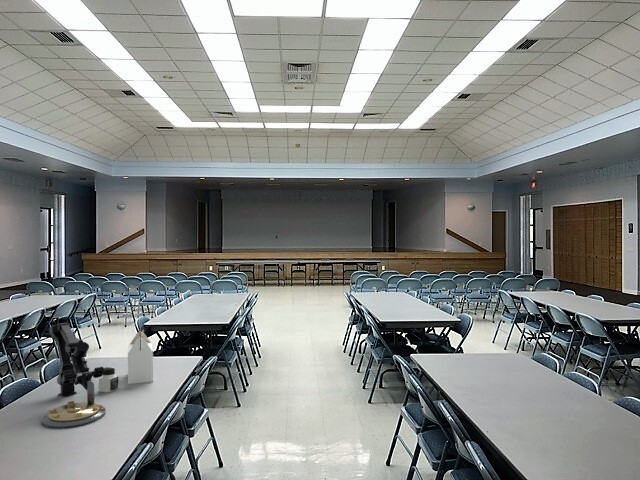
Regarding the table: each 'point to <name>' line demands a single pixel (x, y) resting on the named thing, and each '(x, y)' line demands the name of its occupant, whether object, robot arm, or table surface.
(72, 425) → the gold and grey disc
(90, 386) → the gold wheel with handle
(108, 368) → the medicine bottle
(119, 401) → the table surface
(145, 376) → the gable box
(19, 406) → the table surface
